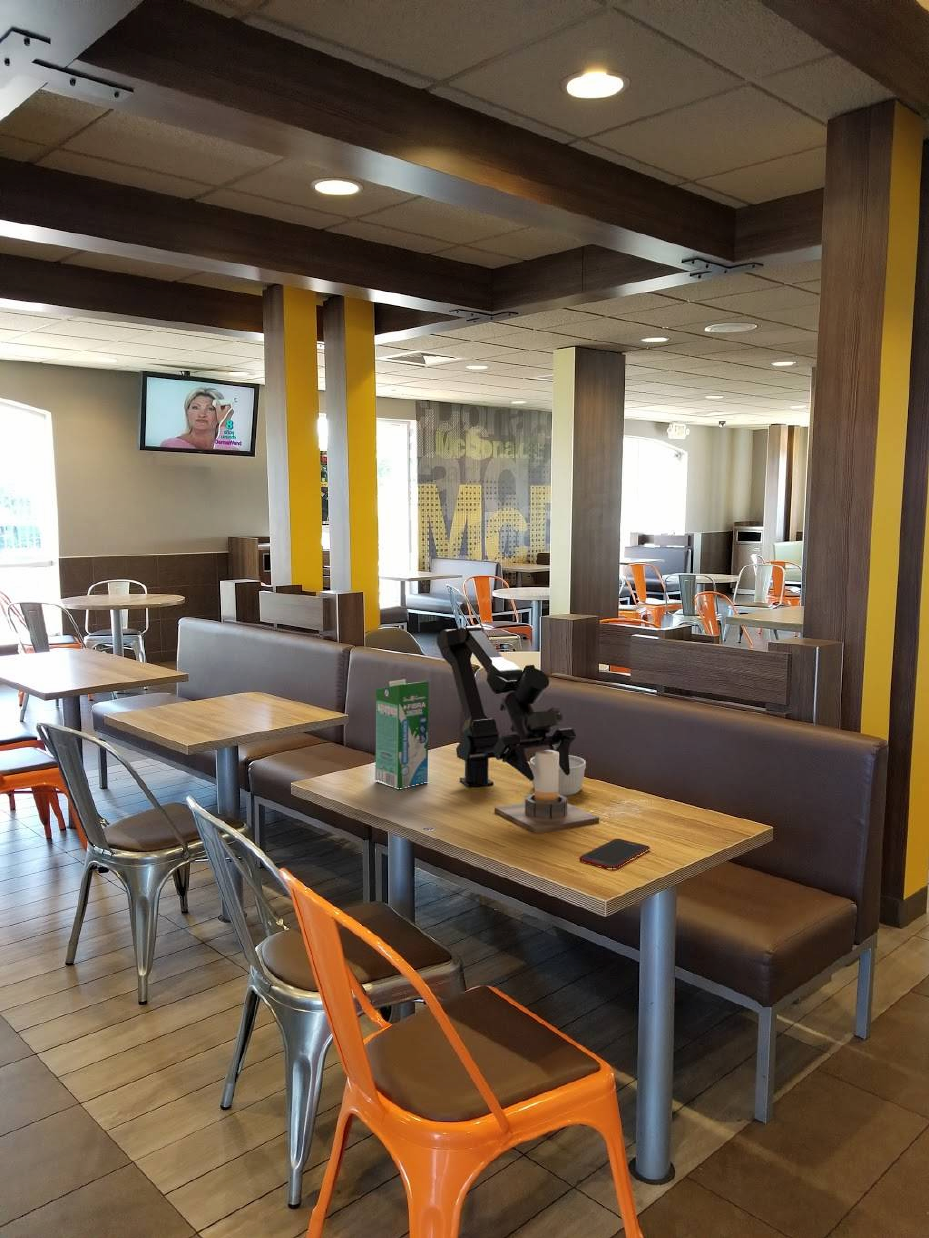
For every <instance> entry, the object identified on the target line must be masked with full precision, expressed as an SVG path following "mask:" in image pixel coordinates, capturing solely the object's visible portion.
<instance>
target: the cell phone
mask: <svg viewBox="0 0 929 1238" xmlns="http://www.w3.org/2000/svg"><path fill="white" fill-rule="evenodd" d="M650 848H651V847H650V846H649V845H646V844H641V843H638V842H635V841H631V840H626V839H622V838H614V839H611V840H610V841H608V842H606V843H604V844H601V845H600V846H598V847H596V848H594V849H592V850H591V851H588V852H586V853H584V854H582V855H580V856H579V858H578V861H579V860H580V861H583V862H586V863H585V864H588V863H590V864H596V865H598V866H601V867H604V868H606V869H607V868H612V869H613V868H618V867H619V866H621V865H623V864H624V863H626V862H627V861H629V860H630V859H632V858H635V857H636V856H637V855H640V854H641V853H643V852H645V851H646V850H648V849H650ZM580 861H579V862H580ZM583 862H582V863H583ZM590 864H589V865H590ZM623 866H624V865H623ZM601 867H600V868H601ZM618 869H619V868H618Z"/></svg>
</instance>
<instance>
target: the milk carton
mask: <svg viewBox="0 0 929 1238" xmlns="http://www.w3.org/2000/svg"><path fill="white" fill-rule="evenodd" d="M388 684H389V686H385V687H380V688H376V689H375V763H374V764H375V769H374V771H375V773H374V774H375V775H374V776H375V780H379V781H382V782H384V783H386V784H388V785H391V786H393V787H396V788H399V789H400V788H405V787H408V786H412V785H416V784H421V783H424V782H428V783H429V779H428V778H429V777H428V775H429V774H428V773H429V767H428V766H429V699H430V698H429V696H430V693H429V692H430V691H429V690H430V689H429V688H430V687H429V686H430V681H429V680H425V681H418V682H410V683H406V679H405V678H404V679H399V680H398V679H397V680H391V681H389V683H388ZM375 780H374V781H375ZM405 789H406V788H405Z"/></svg>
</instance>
